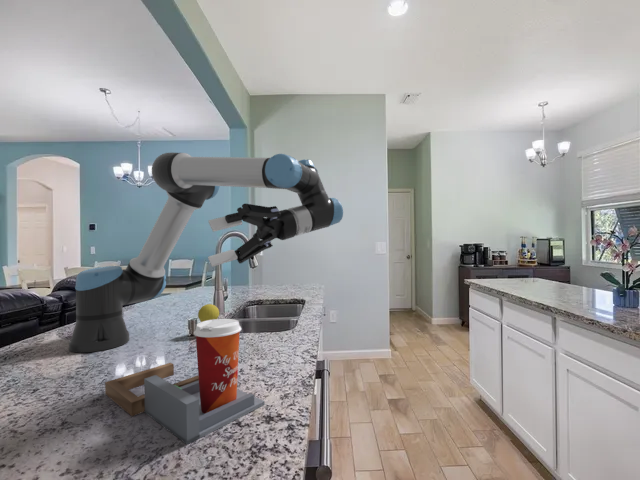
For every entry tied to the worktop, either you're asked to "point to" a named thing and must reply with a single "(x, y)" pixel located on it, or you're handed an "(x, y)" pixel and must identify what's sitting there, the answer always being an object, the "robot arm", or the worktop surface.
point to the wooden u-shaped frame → (121, 386)
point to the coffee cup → (217, 361)
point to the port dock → (191, 408)
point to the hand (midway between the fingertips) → (210, 245)
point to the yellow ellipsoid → (208, 312)
